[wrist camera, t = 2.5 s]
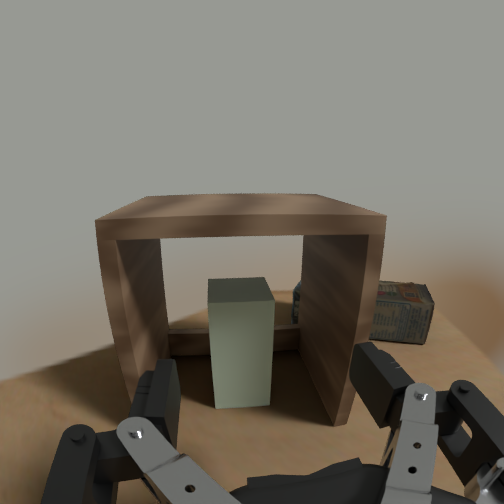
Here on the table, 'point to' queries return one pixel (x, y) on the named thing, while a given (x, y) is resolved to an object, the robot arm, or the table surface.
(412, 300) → the beverage carton
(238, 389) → the sage block
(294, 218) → the walnut box
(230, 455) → the table surface
